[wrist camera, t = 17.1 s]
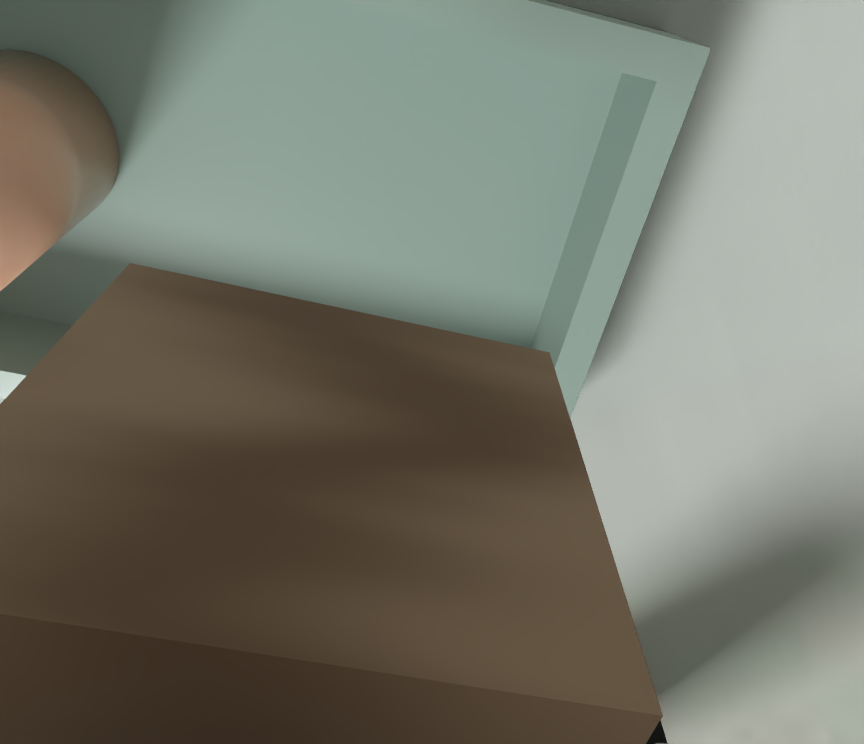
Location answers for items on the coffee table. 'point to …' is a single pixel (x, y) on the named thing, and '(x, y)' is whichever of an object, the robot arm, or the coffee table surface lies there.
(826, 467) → the coffee table surface
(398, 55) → the tote
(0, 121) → the terracotta cylinder
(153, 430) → the walnut block
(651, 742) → the robot arm
